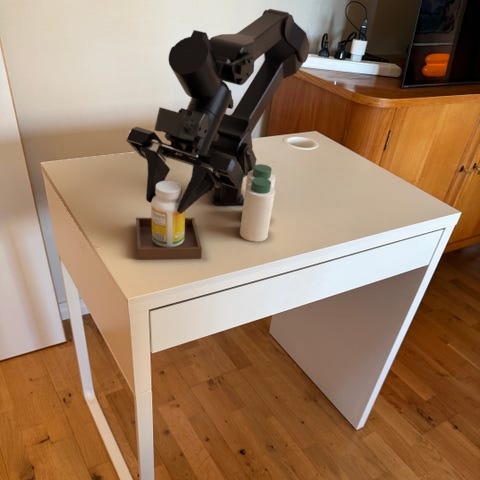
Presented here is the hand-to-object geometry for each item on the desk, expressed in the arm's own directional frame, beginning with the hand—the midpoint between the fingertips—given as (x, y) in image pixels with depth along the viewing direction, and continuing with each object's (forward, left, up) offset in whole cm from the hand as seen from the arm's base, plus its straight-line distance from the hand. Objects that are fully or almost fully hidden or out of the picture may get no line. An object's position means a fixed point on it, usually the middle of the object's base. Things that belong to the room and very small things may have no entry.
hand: (163, 206), depth 71 cm
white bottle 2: (-4, +16, -7) cm, 18 cm away
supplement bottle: (-1, +1, -7) cm, 7 cm away
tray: (-1, +1, -7) cm, 7 cm away
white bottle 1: (-9, +18, -7) cm, 21 cm away
